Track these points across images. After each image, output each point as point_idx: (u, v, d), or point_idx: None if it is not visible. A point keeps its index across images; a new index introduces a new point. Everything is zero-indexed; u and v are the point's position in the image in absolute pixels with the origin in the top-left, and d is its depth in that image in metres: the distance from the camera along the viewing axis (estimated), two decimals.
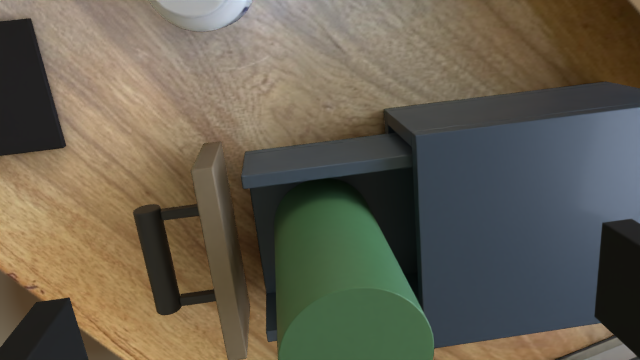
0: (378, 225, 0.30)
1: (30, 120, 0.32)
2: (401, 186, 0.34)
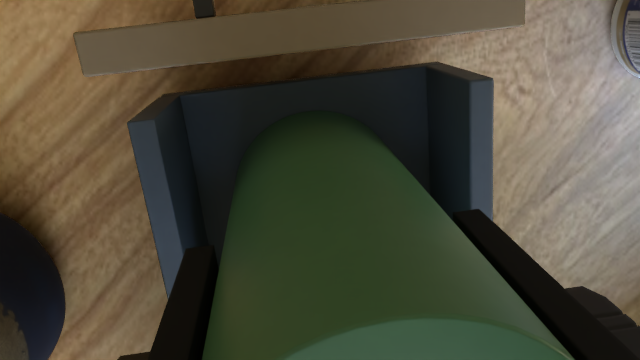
0: None
1: None
2: None
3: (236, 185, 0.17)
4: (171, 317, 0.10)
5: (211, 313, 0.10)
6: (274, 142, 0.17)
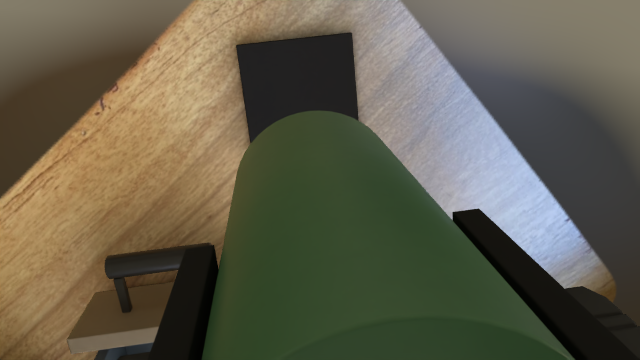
0: None
1: None
2: None
3: (236, 185, 0.17)
4: (171, 317, 0.10)
5: (211, 313, 0.10)
6: (274, 142, 0.17)
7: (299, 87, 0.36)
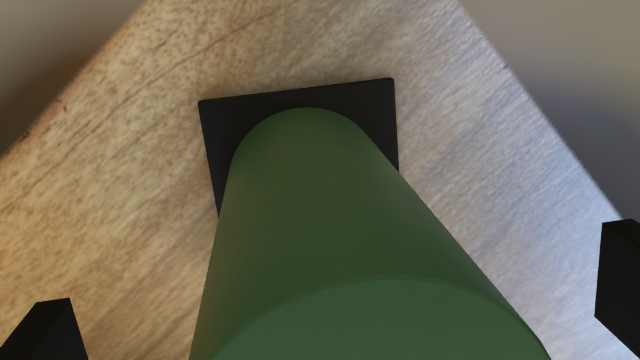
0: None
1: None
2: None
3: (228, 177, 0.18)
4: None
5: (204, 289, 0.11)
6: (264, 136, 0.18)
7: None
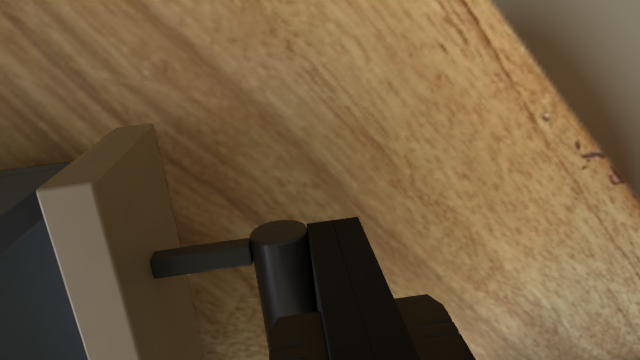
0: None
1: None
2: None
3: None
4: (326, 281, 0.11)
5: None
6: None
7: None
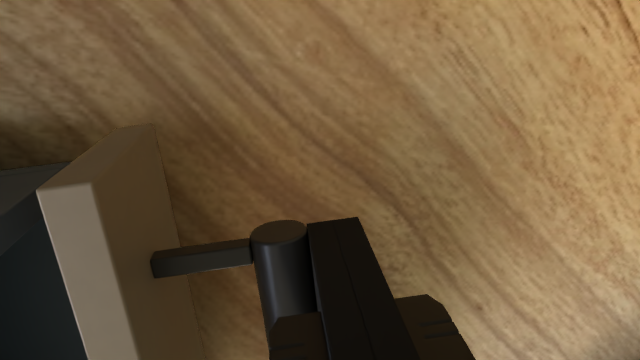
0: None
1: None
2: None
3: None
4: (326, 281, 0.11)
5: None
6: None
7: None
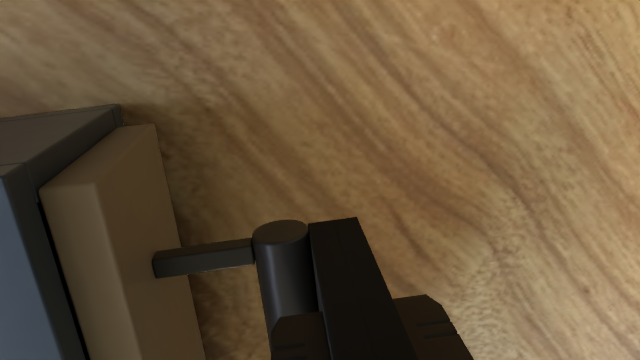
0: None
1: None
2: None
3: None
4: (327, 280, 0.11)
5: None
6: None
7: None
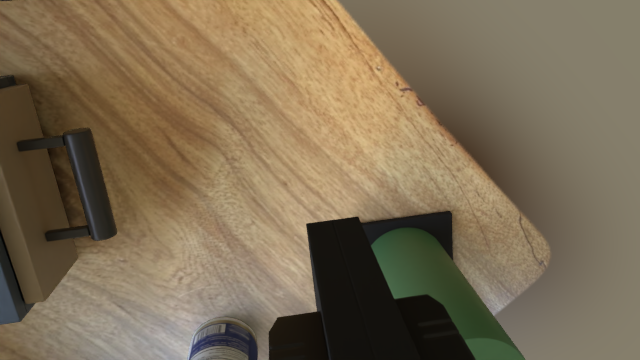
0: None
1: None
2: None
3: (435, 247, 0.36)
4: (326, 281, 0.11)
5: (470, 300, 0.29)
6: None
7: None
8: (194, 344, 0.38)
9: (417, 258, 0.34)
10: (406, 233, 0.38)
